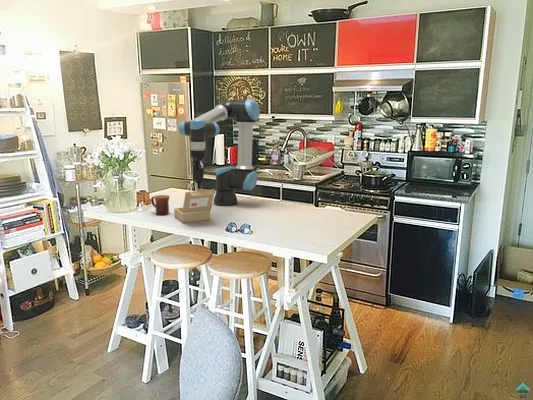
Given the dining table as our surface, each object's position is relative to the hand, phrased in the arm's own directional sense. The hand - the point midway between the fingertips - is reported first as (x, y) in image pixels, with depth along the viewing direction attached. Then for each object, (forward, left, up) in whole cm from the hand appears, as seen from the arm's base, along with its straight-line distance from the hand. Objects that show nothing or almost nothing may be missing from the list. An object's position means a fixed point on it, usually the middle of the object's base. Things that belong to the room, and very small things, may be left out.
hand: (198, 194), depth 236 cm
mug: (+13, -29, -16) cm, 36 cm away
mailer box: (0, -11, -16) cm, 19 cm away
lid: (0, -1, -4) cm, 4 cm away
